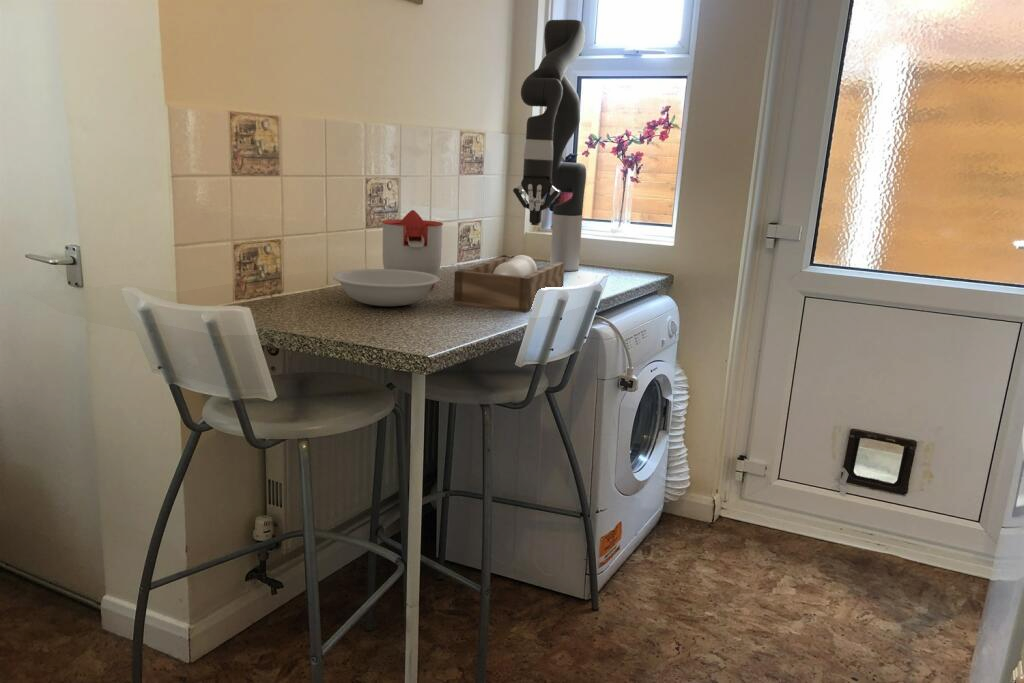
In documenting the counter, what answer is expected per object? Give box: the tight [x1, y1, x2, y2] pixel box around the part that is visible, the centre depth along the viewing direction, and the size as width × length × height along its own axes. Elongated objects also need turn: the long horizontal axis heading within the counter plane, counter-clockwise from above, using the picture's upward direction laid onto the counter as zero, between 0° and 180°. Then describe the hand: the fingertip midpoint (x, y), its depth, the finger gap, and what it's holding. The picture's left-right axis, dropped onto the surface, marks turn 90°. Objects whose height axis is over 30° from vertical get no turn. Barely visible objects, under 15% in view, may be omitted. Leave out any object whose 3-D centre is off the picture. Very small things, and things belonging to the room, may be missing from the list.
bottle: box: [493, 254, 538, 277], centre depth 203 cm, size 8×8×30 cm
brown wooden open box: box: [453, 256, 565, 313], centre depth 200 cm, size 32×18×8 cm, turn 162°
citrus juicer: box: [381, 209, 444, 289], centre depth 206 cm, size 16×17×20 cm
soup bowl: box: [332, 268, 440, 307], centre depth 184 cm, size 24×24×7 cm
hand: (534, 224), depth 213 cm, fingers closed
